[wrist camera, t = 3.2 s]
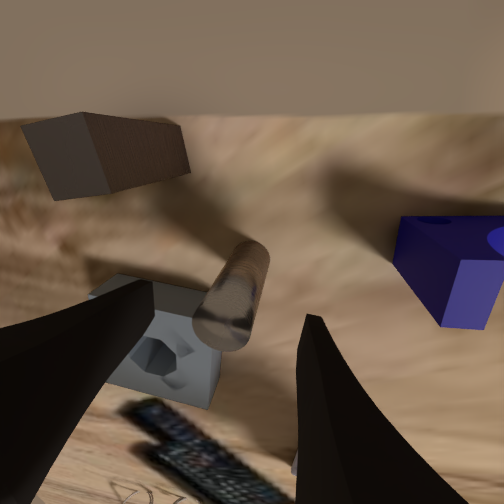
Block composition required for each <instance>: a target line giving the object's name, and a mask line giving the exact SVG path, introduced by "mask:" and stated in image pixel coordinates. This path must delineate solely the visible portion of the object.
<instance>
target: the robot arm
mask: <svg viewBox="0 0 504 504" xmlns="http://www.w3.org/2000/svg"><path fill="white" fill-rule="evenodd" d="M154 317H155V307H154V293H153V281H148V280H143V279H139V280H136V281H134V282H131V283H128V284H126V285H124V286H121V287H119V288H117V289H114V290H112V291H109V292H107V293H105V294H102V295H100V296H98V297H95V298H93V299H90V300H88V301H85V302H82V303H80V304H77V305H75V306H72V307H69V308H67V309H64V310H61V311H58V312H55V313H52V314H49V315H46V316H43V317H40V318H36V319H33V320H30V321H26V322H22V323H19V324H15V325H11V326H7V327H3V328H0V504H31V502H32V500H33V499H34V497H35V495H36V493H37V492H38V490H39V488H40V486H41V484H42V483H43V481H44V479H45V477H46V476H47V474H48V472H49V470H50V468H51V467H52V465H53V463H54V462H55V460H56V458H57V457H58V455H59V453H60V452H61V450H62V448H63V447H64V445H65V443H66V442H67V440H68V438H69V437H70V435H71V433H72V432H73V430H74V429H75V427H76V425H77V424H78V422H79V421H80V419H81V418H82V416H83V415H84V413H85V411H86V410H87V408H88V407H89V405H90V404H91V402H92V401H93V399H94V398H95V396H96V395H97V393H98V392H99V390H100V389H101V388H102V386H103V385H104V383H105V382H106V381H107V379H108V378H109V377H110V376H111V374H112V373H113V372H114V371H115V369H116V368H117V367H118V366H119V365H120V363H121V362H122V361H123V360H124V358H125V357H126V356H127V355H128V354H129V352H130V351H131V350H132V349H133V347H134V346H135V345H136V344H137V342H138V341H139V340H140V339H141V337H142V336H143V335H144V333H145V332H146V330H147V329H148V327H149V325H150V324H151V322H152V320H153V319H154ZM296 384H297V408H298V450H297V453H296V456H295V459H294V461H293V464H292V467H291V473H292V474H293V475H295V476H297V480H296V500H295V504H469V503H468V502H467V501H466V500H465V499H463V498H462V497H461V496H460V495H459V494H458V493H457V492H456V491H455V490H454V489H453V488H452V487H451V486H450V485H449V484H448V483H447V482H446V481H445V480H443V479H442V478H441V477H440V476H439V475H438V474H437V473H436V472H435V471H434V470H433V468H432V467H431V466H430V465H429V464H428V463H427V462H426V461H425V460H424V459H423V458H422V457H421V456H420V455H419V454H418V453H417V452H416V451H415V450H414V449H413V448H412V447H411V445H410V444H409V443H408V442H407V441H406V440H405V439H404V438H403V437H402V435H401V434H400V433H399V432H398V431H397V430H396V429H395V427H394V426H393V425H392V424H391V423H390V422H389V421H388V419H387V418H386V417H385V416H384V415H383V413H382V412H381V411H380V410H379V409H378V407H377V406H376V405H375V403H374V402H373V401H372V400H371V398H370V397H369V396H368V394H367V393H366V391H365V390H364V389H363V387H362V386H361V384H360V383H359V382H358V380H357V379H356V377H355V376H354V374H353V372H352V371H351V369H350V368H349V366H348V365H347V363H346V361H345V360H344V358H343V356H342V355H341V353H340V351H339V350H338V348H337V346H336V344H335V342H334V341H333V339H332V337H331V335H330V333H329V331H328V329H327V327H326V325H325V323H324V321H323V319H322V317H321V316H316V315H311V314H307V315H306V318H305V322H304V326H303V330H302V333H301V337H300V341H299V345H298V349H297V363H296Z"/></svg>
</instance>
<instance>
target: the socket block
mask: <svg viewBox="0 0 504 504" xmlns="http://www.w3.org/2000/svg"><path fill="white" fill-rule="evenodd" d="M139 279H141V278H137V277H132V276H127V275H122V274H118V273H117V274H116V275H115V276H113V277H112V278H110V279H109V280H108V281H106V282H105V283H103V284H102V285H100V286H99V287H98V288H96V289H95V290H93V291H92V292H91V293H89V294H88V298H89V300H90V299H93V298H95V297H98V296H100V295H102V294H105V293H107V292H109V291H112V290H114V289H117V288H119V287H121V286H124V285H126V284H128V283H131V282H134V281H136V280H139ZM143 280H146V279H143ZM148 281H151V280H148ZM153 293H154V307H155V317H154V319H153V320H152V322H151V324H150V325H149V327H148V329H147V330H146V332H145V333H144V335H143V336H142V337H141V339H140V340H139V341H138V342H137V344H136V345H135V346H134V347H133V349H132V350H131V351H130V352H129V354H128V355H127V356H126V357H125V358H124V360H123V361H122V362H121V363H120V365H119V366H118V367H117V368H116V369H115V371H114V372H113V373H112V374H111V376H110V377H109V378H108V379H107V381H106V383H110V384H114V385H117V386H121V387H125V388H128V389H132V390H136V391H139V392H143V393H147V394H151V395H154V396H158V397H162V398H165V399H169V400H173V401H176V402H180V403H184V404H187V405H191V406H195V407H199V408H202V409H206V410H208V409H209V406H210V403H211V400H212V397H213V395H214V392H215V389H216V386H217V383H218V380H219V377H220V365H221V354H222V351H218V350H215V349H213V348H210V347H208V346H207V345H205V344H204V343H203V342H202V341H200V340H199V338H198V337H197V336H196V334H195V333H194V330H193V327H192V317H193V315H194V313H195V311H196V310H197V308H198V306H199V305H200V303H201V302H202V300H203V299H204V297H205V295H206V294H207V292H203V291H198V290H194V289H189V288H184V287H179V286H175V285H170V284H165V283H160V282H156V281H153ZM161 340H162V341H163V342H164V343H163V342H162V341H161Z"/></svg>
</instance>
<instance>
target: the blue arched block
mask: <svg viewBox="0 0 504 504" xmlns="http://www.w3.org/2000/svg"><path fill="white" fill-rule="evenodd" d="M392 264H393V265H394V267H395V268H396V269H397V271H398V272H399V273H400V274H401V276H402V277H403V278H404V280H405V281H406V282H407V284H408V285H409V286H410V288H411V289H412V290H413V292H414V293H415V294H416V296H417V297H418V298H419V300H420V301H421V302H422V303H423V305H424V306H425V307H426V309H427V310H428V311H429V313H430V314H431V315H432V317H433V318H434V319H435V321H436V322H437V323H438V325H439V326H440V327H447V328H461V329H475V330H484V328H485V325H486V323H487V320H488V318H489V315H490V313H491V310H492V308H493V305H494V303H495V300H496V298H497V295H498V293H499V290H500V288H501V285H502V283H503V280H504V216H401V221H400V226H399V231H398V237H397V242H396V247H395V252H394V258H393V263H392Z"/></svg>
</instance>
